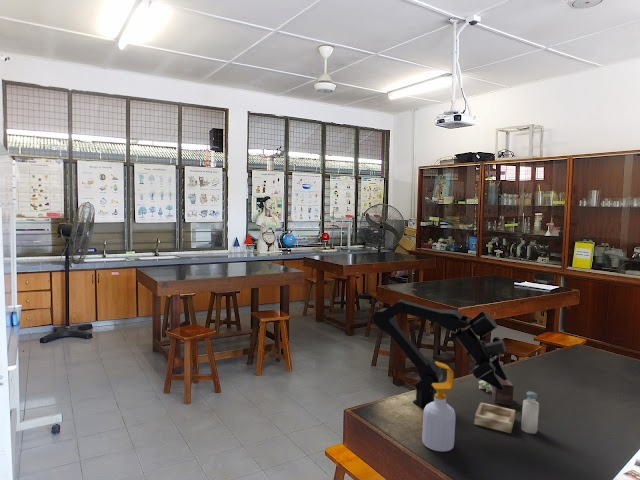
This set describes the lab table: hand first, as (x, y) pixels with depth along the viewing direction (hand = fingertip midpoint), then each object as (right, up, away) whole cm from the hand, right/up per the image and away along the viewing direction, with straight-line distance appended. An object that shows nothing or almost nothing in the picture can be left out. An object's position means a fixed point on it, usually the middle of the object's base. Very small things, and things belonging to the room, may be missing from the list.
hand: (504, 384), depth 146 cm
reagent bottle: (+7, -14, -3) cm, 15 cm away
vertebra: (+4, -11, +27) cm, 29 cm away
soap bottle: (-25, -14, -13) cm, 31 cm away
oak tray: (-2, -13, +2) cm, 13 cm away
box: (+7, -12, +18) cm, 23 cm away
